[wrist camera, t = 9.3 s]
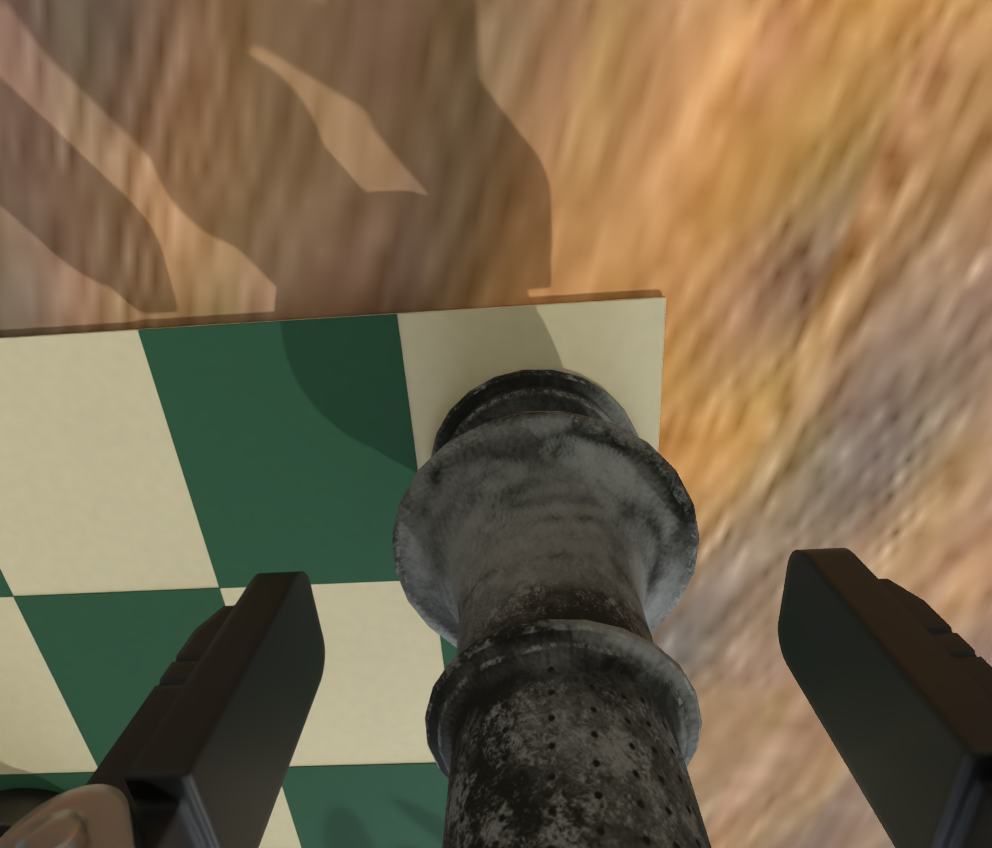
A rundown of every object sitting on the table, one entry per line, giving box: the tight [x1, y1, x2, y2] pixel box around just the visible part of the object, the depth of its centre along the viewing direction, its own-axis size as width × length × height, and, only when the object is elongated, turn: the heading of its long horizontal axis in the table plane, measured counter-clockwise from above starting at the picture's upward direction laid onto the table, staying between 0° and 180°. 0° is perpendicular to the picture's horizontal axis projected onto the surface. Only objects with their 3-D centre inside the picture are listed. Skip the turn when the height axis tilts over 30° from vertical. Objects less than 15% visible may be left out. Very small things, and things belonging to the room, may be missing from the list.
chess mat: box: [0, 297, 666, 848], centre depth 17 cm, size 24×22×1 cm
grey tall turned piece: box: [392, 370, 711, 848], centre depth 9 cm, size 6×6×12 cm
